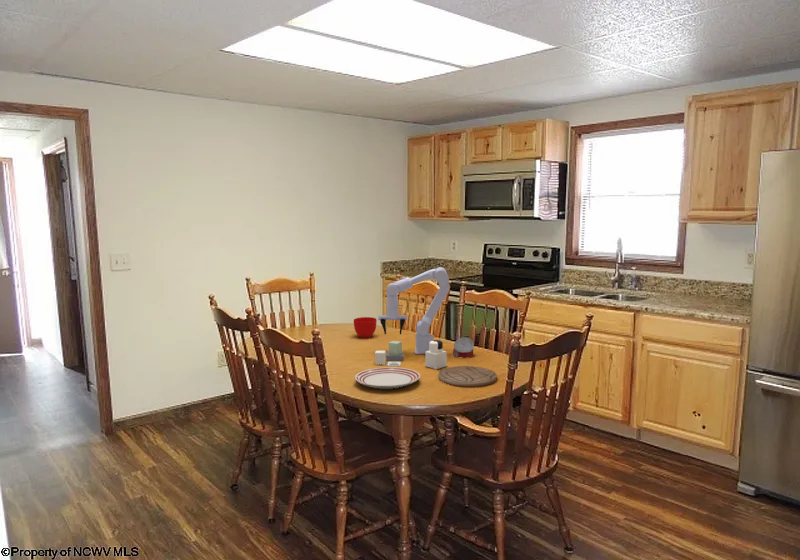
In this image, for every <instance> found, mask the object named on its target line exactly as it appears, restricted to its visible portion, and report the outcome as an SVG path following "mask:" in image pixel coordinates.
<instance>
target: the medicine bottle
mask: <svg viewBox="0 0 800 560" xmlns="http://www.w3.org/2000/svg"><path fill="white" fill-rule="evenodd" d="M443 347H444V345H443V341H442V340H439V339H434V340H432V341H430V342H429V351H426V352H425V354H424V355H425V356H424V357H425V360H424V361H425V367H426V368H431V369H434V370H438V369H442V368H445V367H446V368H447V366H448V364H447V363H448V362H447V355H448V353H447V351H446V350H444V348H443Z"/></svg>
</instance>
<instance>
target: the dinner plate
mask: <svg viewBox="0 0 800 560" xmlns="http://www.w3.org/2000/svg"><path fill="white" fill-rule="evenodd" d="M420 378H421V374H420V373H419V372H418V371H416V370H414V369H411V368H405V367H398V366H387V367H376V368H369V369H365V370H362V371H360V372H358V373H356V374H355V375H354V379H355V380H356V381H357V382H358V383H359V384H361V385H363V386H366V387H370V388H372V387H373V388H372V389H377V388H379V389H378V390H394V389H393V388H395V389H399V387H400V388H403V386H404V387H406V386H409V385H411V384H414V383H416V382H417V381H418V380H419V379H420Z"/></svg>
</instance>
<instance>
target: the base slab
mask: <svg viewBox="0 0 800 560" xmlns="http://www.w3.org/2000/svg"><path fill="white" fill-rule="evenodd" d="M386 361H387V362H404V351H403V350H402V353H401V354H399V355H392V354H389V350H388V351H386Z"/></svg>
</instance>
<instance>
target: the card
mask: <svg viewBox="0 0 800 560" xmlns="http://www.w3.org/2000/svg"><path fill="white" fill-rule="evenodd" d="M401 364H402V361H387V367H401Z"/></svg>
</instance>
